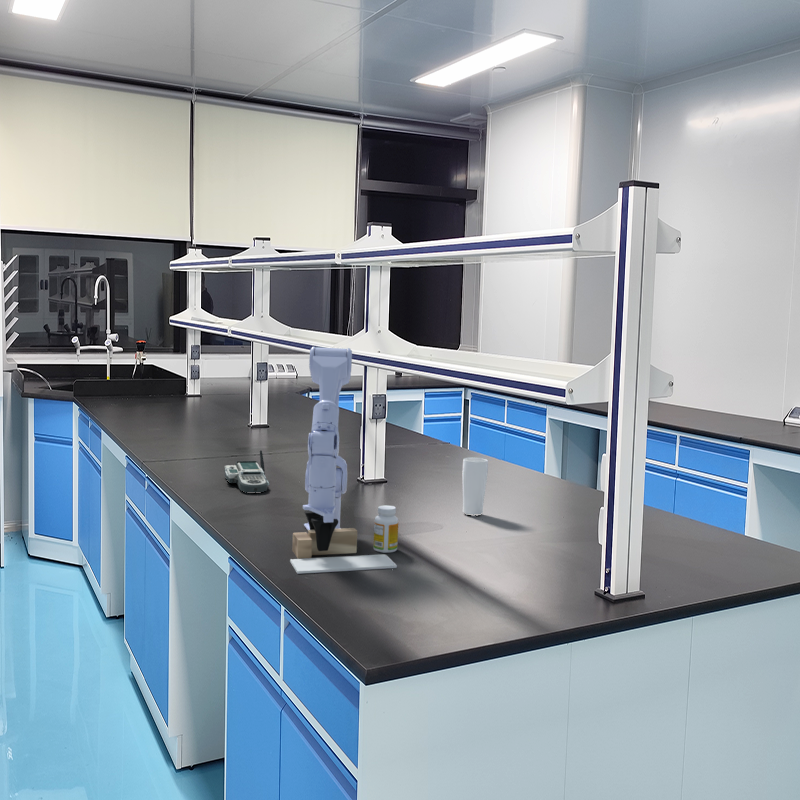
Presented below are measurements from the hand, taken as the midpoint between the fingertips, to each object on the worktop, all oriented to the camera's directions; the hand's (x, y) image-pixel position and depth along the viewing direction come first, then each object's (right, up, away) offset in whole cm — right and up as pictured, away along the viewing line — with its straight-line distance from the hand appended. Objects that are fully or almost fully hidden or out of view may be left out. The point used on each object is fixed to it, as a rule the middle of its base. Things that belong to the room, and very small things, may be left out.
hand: (320, 546), depth 177 cm
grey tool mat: (+6, -2, -7) cm, 10 cm away
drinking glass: (+37, +1, +41) cm, 55 cm away
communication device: (-28, +6, +64) cm, 70 cm away
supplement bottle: (+14, -2, +5) cm, 15 cm away
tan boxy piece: (+1, -2, +1) cm, 2 cm away
